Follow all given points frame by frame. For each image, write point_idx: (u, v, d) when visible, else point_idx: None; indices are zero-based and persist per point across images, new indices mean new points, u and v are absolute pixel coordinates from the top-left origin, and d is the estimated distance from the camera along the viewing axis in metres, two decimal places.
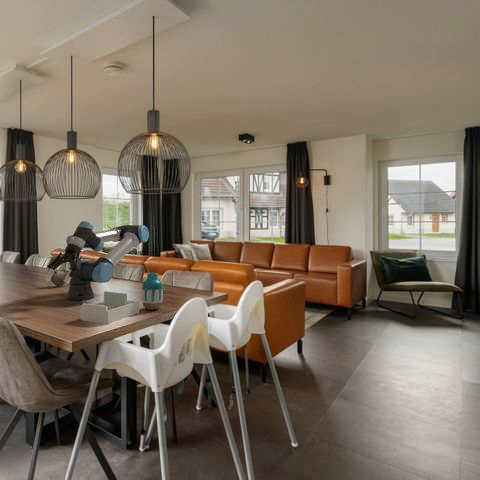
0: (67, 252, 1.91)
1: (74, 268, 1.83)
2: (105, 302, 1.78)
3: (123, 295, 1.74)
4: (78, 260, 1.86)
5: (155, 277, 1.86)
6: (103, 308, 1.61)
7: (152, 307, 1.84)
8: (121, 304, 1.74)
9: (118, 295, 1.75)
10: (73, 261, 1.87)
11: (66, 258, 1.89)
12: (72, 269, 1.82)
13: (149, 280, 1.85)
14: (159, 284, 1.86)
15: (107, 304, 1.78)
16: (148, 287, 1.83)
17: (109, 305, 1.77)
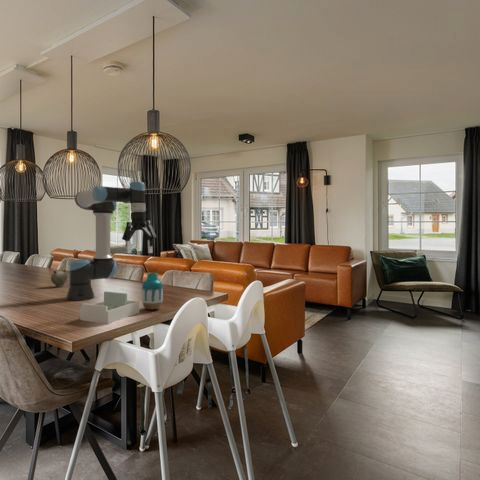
0: (134, 220, 1.83)
1: (151, 237, 1.80)
2: (105, 302, 1.78)
3: (123, 295, 1.74)
4: (150, 227, 1.80)
5: (155, 277, 1.86)
6: (103, 308, 1.61)
7: (152, 307, 1.84)
8: (121, 304, 1.74)
9: (118, 295, 1.75)
10: (145, 229, 1.82)
11: (137, 227, 1.83)
12: (150, 239, 1.79)
13: (149, 280, 1.85)
14: (159, 284, 1.86)
15: (107, 304, 1.78)
16: (148, 287, 1.83)
17: (109, 305, 1.77)
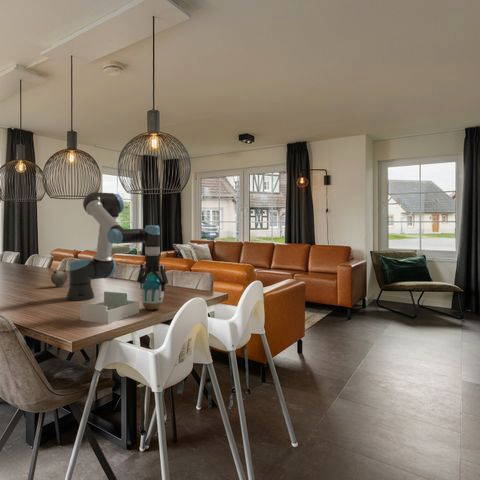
0: (148, 262, 1.87)
1: (163, 282, 1.85)
2: (105, 302, 1.78)
3: (123, 295, 1.74)
4: (163, 272, 1.85)
5: (155, 277, 1.86)
6: (103, 308, 1.61)
7: (152, 307, 1.84)
8: (121, 304, 1.74)
9: (118, 295, 1.75)
10: (158, 273, 1.87)
11: (151, 270, 1.87)
12: (162, 285, 1.84)
13: (149, 280, 1.85)
14: (159, 284, 1.86)
15: (107, 304, 1.78)
16: (148, 287, 1.83)
17: (109, 305, 1.77)
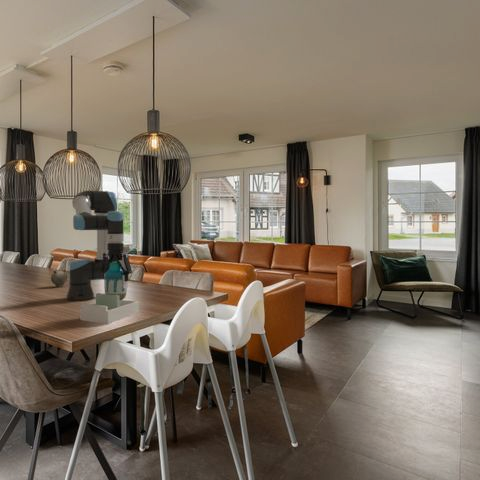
0: (111, 251, 1.76)
1: (126, 272, 1.73)
2: (97, 304, 1.73)
3: (115, 297, 1.69)
4: (127, 261, 1.73)
5: (118, 267, 1.74)
6: (103, 308, 1.61)
7: None
8: (113, 306, 1.69)
9: (110, 297, 1.70)
10: (122, 262, 1.75)
11: (114, 259, 1.75)
12: (125, 274, 1.73)
13: (111, 269, 1.73)
14: (122, 274, 1.74)
15: None
16: (110, 277, 1.71)
17: None
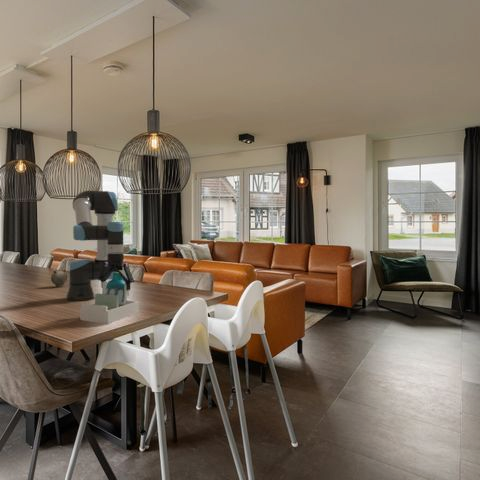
0: (111, 262, 1.76)
1: (128, 281, 1.73)
2: None
3: (114, 297, 1.68)
4: (128, 271, 1.73)
5: (121, 277, 1.77)
6: (103, 308, 1.61)
7: None
8: (112, 307, 1.69)
9: (109, 297, 1.69)
10: (122, 271, 1.75)
11: (113, 269, 1.75)
12: (127, 283, 1.72)
13: (114, 279, 1.75)
14: None
15: None
16: (112, 286, 1.73)
17: None
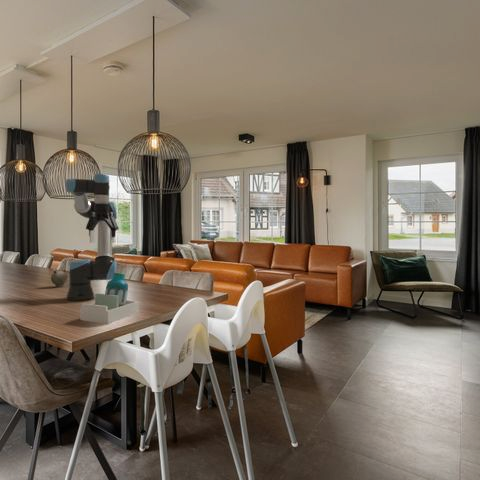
0: (97, 211, 1.91)
1: (113, 228, 1.88)
2: None
3: (114, 297, 1.68)
4: (113, 219, 1.88)
5: (121, 277, 1.77)
6: (103, 308, 1.61)
7: None
8: (112, 307, 1.69)
9: (109, 297, 1.69)
10: (108, 220, 1.90)
11: (100, 218, 1.90)
12: (112, 230, 1.87)
13: (114, 279, 1.75)
14: (124, 285, 1.76)
15: None
16: (112, 286, 1.73)
17: None
